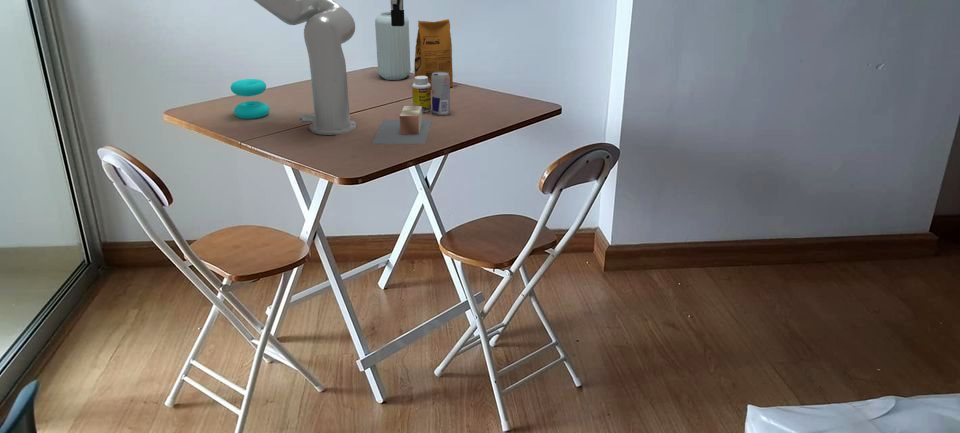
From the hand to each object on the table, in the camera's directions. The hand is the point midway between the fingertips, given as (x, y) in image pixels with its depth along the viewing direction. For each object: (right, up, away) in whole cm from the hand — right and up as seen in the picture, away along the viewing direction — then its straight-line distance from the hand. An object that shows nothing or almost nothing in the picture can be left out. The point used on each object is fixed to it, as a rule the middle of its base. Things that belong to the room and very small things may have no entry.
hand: (398, 25), depth 190 cm
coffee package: (+5, -5, +60) cm, 61 cm away
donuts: (-47, -19, +29) cm, 58 cm away
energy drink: (+10, -19, +30) cm, 37 cm away
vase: (-9, 0, +72) cm, 72 cm away
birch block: (+2, -25, +9) cm, 26 cm away
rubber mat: (0, -26, +13) cm, 29 cm away
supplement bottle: (+4, -17, +33) cm, 37 cm away
